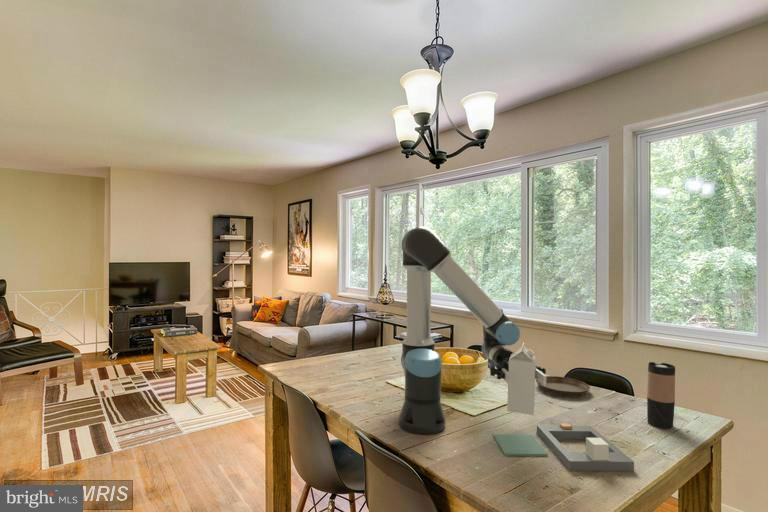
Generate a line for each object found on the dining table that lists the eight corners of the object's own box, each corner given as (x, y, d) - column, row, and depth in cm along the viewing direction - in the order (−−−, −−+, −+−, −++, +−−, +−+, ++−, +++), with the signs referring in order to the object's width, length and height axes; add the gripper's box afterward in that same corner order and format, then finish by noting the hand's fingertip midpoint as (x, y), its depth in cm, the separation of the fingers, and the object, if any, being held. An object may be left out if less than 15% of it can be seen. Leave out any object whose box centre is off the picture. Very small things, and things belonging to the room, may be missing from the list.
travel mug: (665, 431, 132) (667, 369, 132) (641, 422, 139) (643, 363, 138) (678, 426, 135) (680, 366, 135) (654, 418, 142) (656, 360, 142)
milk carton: (507, 411, 118) (509, 345, 118) (509, 403, 125) (511, 341, 124) (533, 415, 115) (535, 348, 115) (534, 407, 122) (536, 343, 122)
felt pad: (505, 455, 114) (505, 453, 114) (492, 436, 126) (493, 434, 126) (547, 456, 114) (547, 454, 114) (531, 436, 126) (531, 434, 126)
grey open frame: (569, 470, 107) (569, 445, 107) (536, 433, 129) (537, 411, 129) (633, 471, 107) (634, 445, 107) (590, 433, 129) (590, 412, 129)
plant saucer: (544, 379, 184) (545, 372, 184) (595, 390, 171) (595, 382, 171) (528, 391, 168) (528, 383, 168) (582, 404, 155) (582, 395, 155)
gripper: (535, 370, 138) (565, 394, 115) (470, 369, 138) (488, 392, 115) (536, 348, 138) (566, 367, 115) (471, 347, 138) (489, 366, 115)
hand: (527, 380), depth 115 cm, fingers closed on milk carton, 9 cm apart
